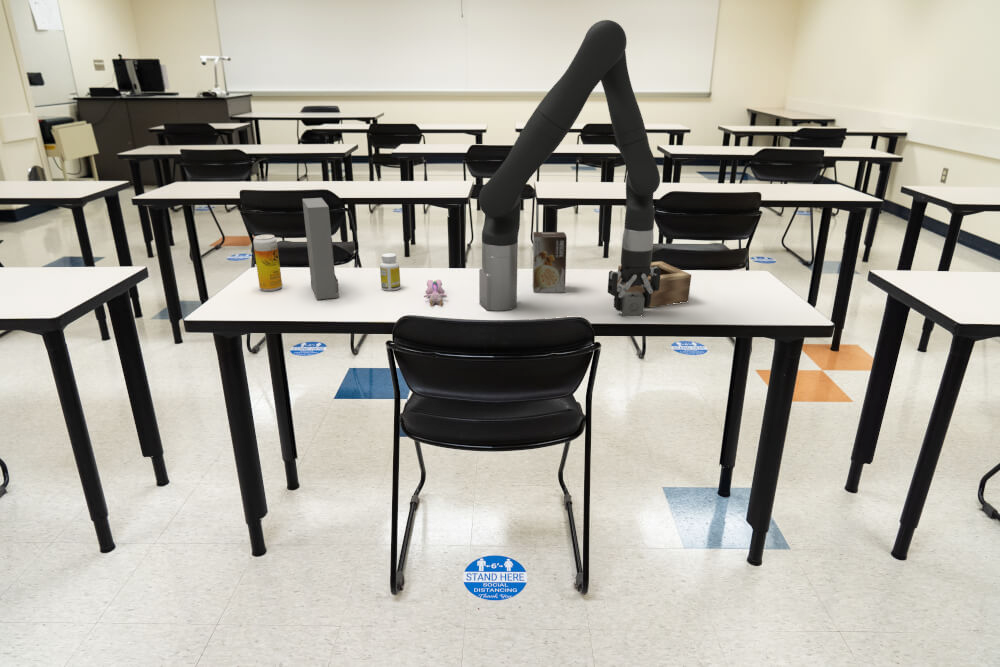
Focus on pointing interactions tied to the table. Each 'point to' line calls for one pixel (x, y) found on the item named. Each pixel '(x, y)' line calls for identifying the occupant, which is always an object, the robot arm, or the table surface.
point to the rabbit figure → (435, 292)
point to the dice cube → (633, 304)
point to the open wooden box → (667, 285)
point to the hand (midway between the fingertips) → (631, 308)
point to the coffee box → (549, 261)
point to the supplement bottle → (389, 272)
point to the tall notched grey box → (320, 248)
